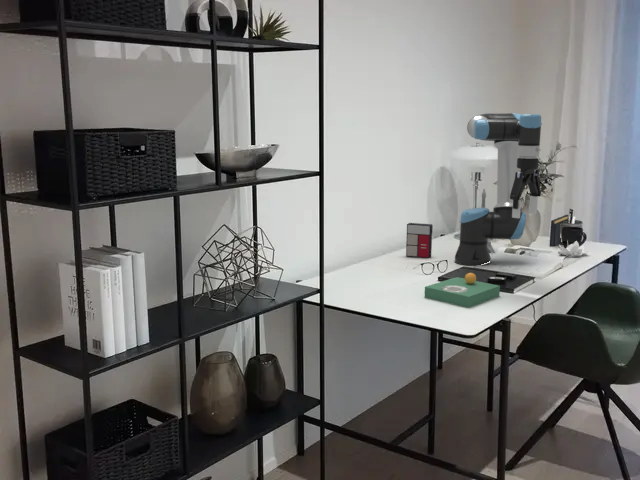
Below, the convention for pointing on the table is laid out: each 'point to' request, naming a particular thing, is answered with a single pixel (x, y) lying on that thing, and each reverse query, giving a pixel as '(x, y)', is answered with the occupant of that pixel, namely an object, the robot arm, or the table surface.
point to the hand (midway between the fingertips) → (524, 215)
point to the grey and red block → (419, 240)
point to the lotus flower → (572, 250)
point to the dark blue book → (556, 230)
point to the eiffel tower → (484, 207)
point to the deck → (462, 292)
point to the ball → (470, 278)
